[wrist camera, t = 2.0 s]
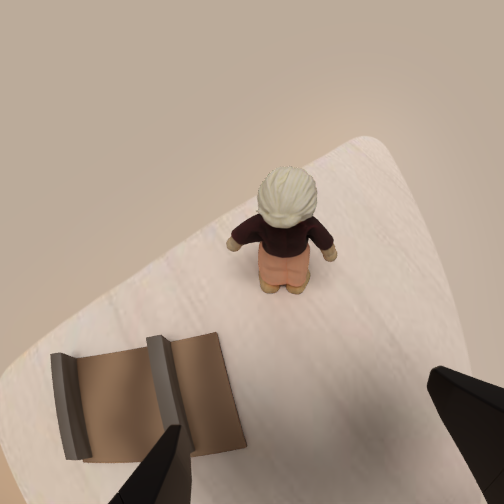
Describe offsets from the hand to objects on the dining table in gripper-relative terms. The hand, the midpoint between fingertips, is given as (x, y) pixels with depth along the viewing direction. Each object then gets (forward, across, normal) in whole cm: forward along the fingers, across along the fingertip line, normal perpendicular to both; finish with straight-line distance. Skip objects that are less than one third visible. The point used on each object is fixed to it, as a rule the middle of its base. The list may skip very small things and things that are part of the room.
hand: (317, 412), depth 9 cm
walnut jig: (+11, +11, +9) cm, 18 cm away
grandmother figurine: (+18, -1, +2) cm, 18 cm away
